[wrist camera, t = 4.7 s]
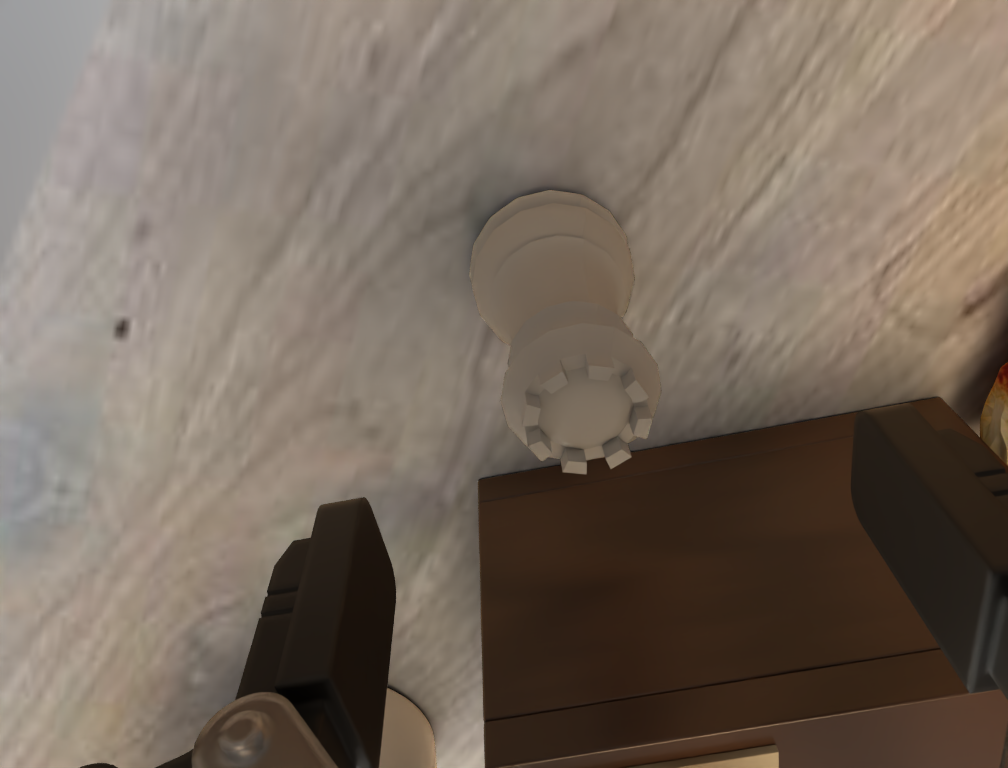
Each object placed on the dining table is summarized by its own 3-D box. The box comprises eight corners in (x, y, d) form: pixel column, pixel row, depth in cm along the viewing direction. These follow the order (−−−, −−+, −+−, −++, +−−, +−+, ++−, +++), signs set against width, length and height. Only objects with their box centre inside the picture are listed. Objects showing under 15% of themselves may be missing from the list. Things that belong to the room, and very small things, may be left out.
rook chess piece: (500, 160, 20) (520, 286, 14) (654, 215, 21) (745, 358, 14) (447, 308, 22) (441, 480, 16) (590, 351, 23) (642, 533, 17)
